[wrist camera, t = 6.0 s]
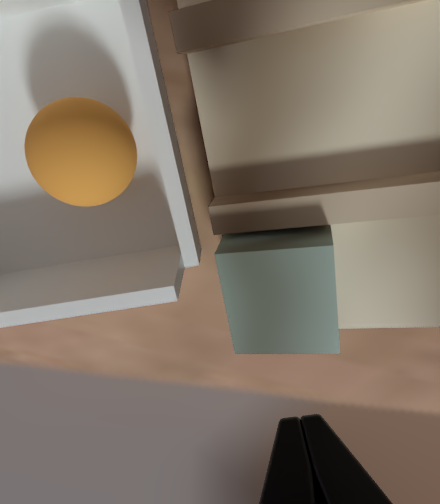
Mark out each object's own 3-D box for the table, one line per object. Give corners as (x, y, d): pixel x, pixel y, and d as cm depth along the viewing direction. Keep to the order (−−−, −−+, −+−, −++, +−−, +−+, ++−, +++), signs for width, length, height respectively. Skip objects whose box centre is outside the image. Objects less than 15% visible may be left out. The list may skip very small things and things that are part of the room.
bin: (139, -32, 12) (102, -80, 9) (201, 249, 16) (194, 298, 13) (-144, 33, 13) (-286, 15, 9) (-16, 285, 17) (-81, 339, 14)
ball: (124, 88, 13) (114, 85, 10) (149, 182, 15) (147, 206, 12) (26, 107, 13) (-15, 111, 10) (61, 201, 15) (35, 231, 11)
